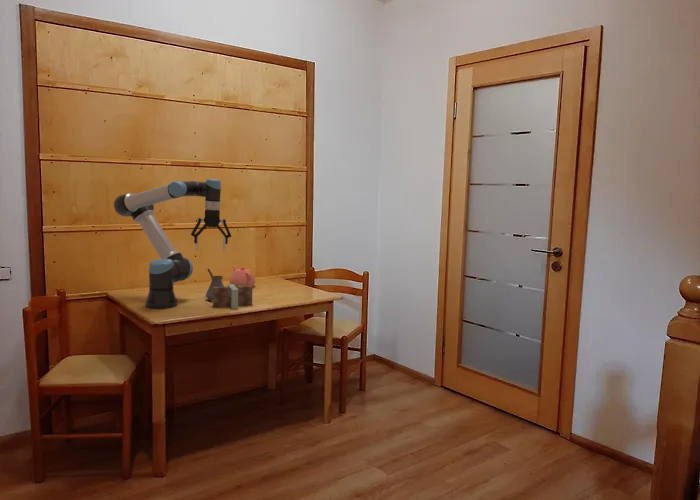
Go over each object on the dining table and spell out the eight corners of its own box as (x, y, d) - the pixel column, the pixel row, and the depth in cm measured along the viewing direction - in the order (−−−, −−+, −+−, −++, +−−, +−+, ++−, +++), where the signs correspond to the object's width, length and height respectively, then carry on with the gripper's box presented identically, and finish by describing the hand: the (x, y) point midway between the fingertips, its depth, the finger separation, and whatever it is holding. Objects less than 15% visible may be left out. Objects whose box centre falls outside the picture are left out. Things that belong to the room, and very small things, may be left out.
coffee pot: (230, 301, 288) (230, 274, 286) (209, 302, 282) (209, 275, 280) (217, 293, 306) (217, 267, 304) (197, 294, 300) (197, 268, 298)
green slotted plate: (232, 308, 271) (232, 289, 270) (227, 302, 284) (227, 284, 283) (237, 308, 272) (238, 289, 271) (233, 302, 285) (233, 284, 284)
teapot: (221, 284, 332) (222, 264, 330) (243, 282, 342) (244, 263, 340) (238, 290, 315) (239, 270, 314) (261, 288, 325) (262, 268, 324)
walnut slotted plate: (213, 307, 273) (213, 288, 272) (212, 305, 276) (213, 287, 275) (252, 305, 281) (252, 286, 279) (250, 303, 283) (251, 285, 282)
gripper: (187, 208, 264) (186, 250, 266) (238, 211, 273) (236, 251, 276) (186, 207, 270) (185, 248, 273) (235, 209, 280) (233, 249, 283)
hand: (210, 250), depth 275 cm, fingers open, 13 cm apart
